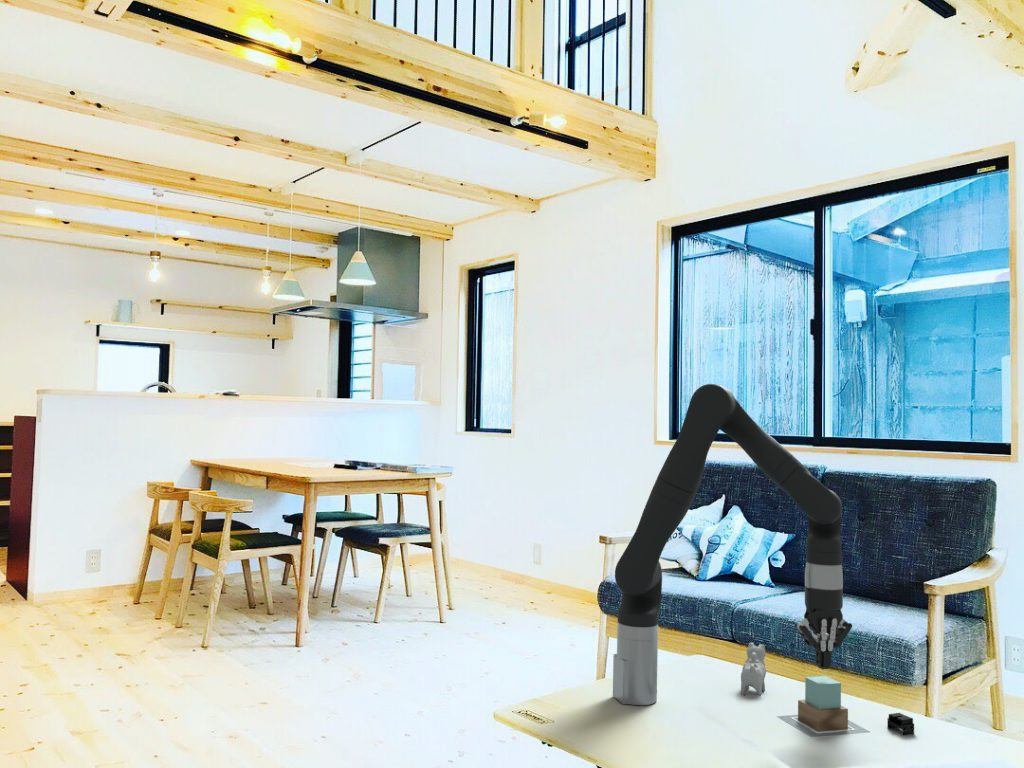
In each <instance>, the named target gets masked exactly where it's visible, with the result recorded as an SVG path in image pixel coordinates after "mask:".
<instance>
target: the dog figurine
mask: <svg viewBox="0 0 1024 768" xmlns="http://www.w3.org/2000/svg"><path fill="white" fill-rule="evenodd" d="M765 649H766V647H765V645H764V644H758V646H757V645H755V643H754V642H749V643H748V646H747V649H746V656H747V659H746V660H745V661H744V664H743V666H742V669H741V670H742V671H741V674H740V695H741V696H740V697H742V696H746V690H749V689H750V687H751V688H752V689H754V690H755V691H756V695H757V696H758V695H759V696H762V694H763V692H765V691H766V685H765V678H766V675H767V668H766V664H765V657H766V652H765V651H766V650H765ZM762 690H763V691H762Z"/></svg>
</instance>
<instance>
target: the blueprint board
mask: <svg viewBox="0 0 1024 768" xmlns="http://www.w3.org/2000/svg"><path fill="white" fill-rule="evenodd" d="M776 717H777V718H779V719H780V720H782V721H784V722H785V723H787V724H788V725H790V726H792V727H793V728H795V729H797V730H799V731H800V732H801V733H803V734H805V735H807V736H808V737H810V738H815V737H816V738H817V737H827V736H828V737H829V736H839V735H852V734H864V733H871V731H870V730H868V729H866V728H864V727H862V726H860V725H858V724H856V723H854V722H853V721H851V720H849V719H848V729H838V730H826V731H817V730H816V729H814V728H812V727H811V726H809V725H807V724H805V723H804V722H802V721H800V720H798V714H788V715H777V716H776Z"/></svg>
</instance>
